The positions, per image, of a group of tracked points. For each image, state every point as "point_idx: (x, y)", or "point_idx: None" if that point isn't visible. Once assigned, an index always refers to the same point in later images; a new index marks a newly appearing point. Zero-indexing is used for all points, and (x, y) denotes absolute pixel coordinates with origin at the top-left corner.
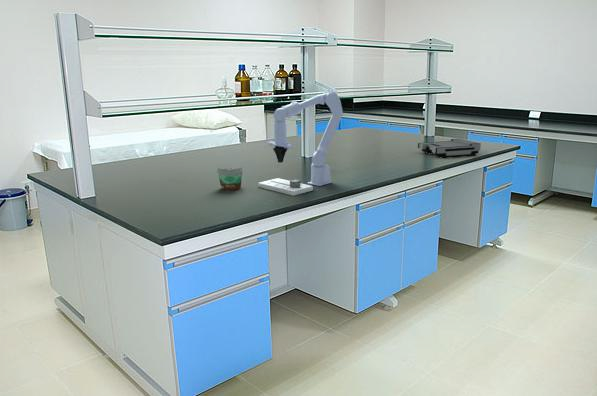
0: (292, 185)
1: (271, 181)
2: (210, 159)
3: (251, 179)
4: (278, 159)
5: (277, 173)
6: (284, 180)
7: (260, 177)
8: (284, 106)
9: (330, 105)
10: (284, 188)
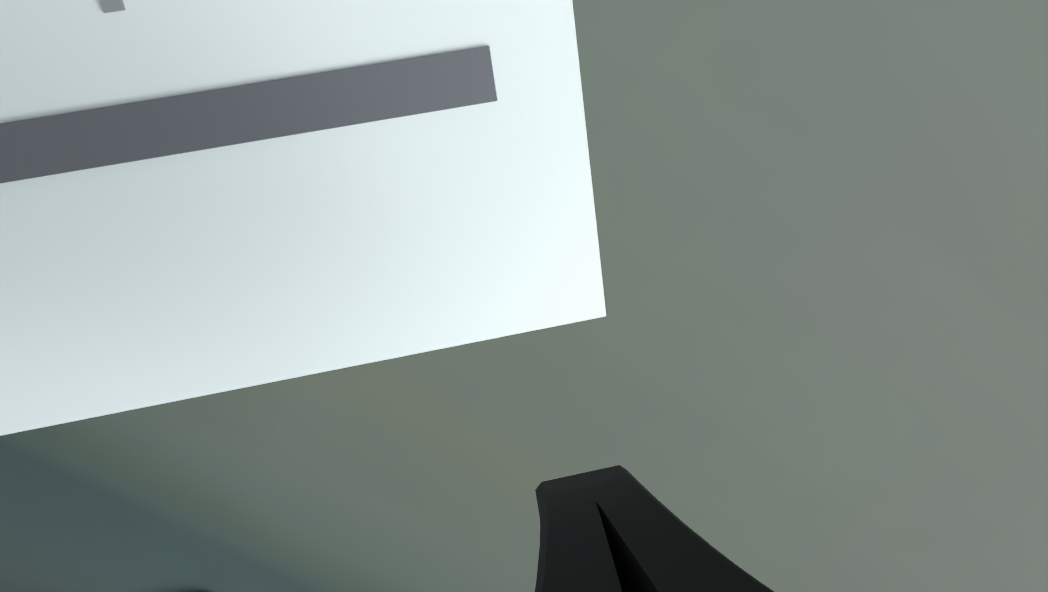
0: None
1: (448, 52)
2: None
3: (1045, 34)
4: (608, 520)
5: (987, 553)
6: (378, 318)
7: (1018, 240)
8: None
9: None
10: None
